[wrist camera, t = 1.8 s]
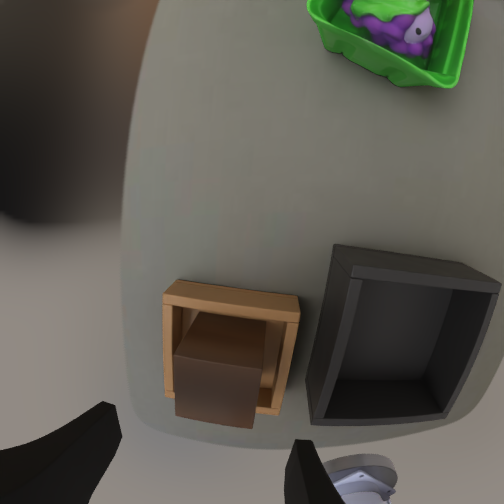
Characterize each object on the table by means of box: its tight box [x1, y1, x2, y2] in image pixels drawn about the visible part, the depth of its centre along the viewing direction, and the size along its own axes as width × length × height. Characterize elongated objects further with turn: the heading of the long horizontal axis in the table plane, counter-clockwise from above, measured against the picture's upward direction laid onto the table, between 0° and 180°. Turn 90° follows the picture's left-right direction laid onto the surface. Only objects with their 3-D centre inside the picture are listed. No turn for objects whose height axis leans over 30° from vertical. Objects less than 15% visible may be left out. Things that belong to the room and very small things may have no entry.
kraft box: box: [163, 280, 301, 415], centre depth 17 cm, size 7×7×2 cm
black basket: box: [305, 244, 502, 426], centre depth 15 cm, size 9×9×4 cm
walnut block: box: [174, 312, 266, 429], centre depth 15 cm, size 4×4×5 cm
